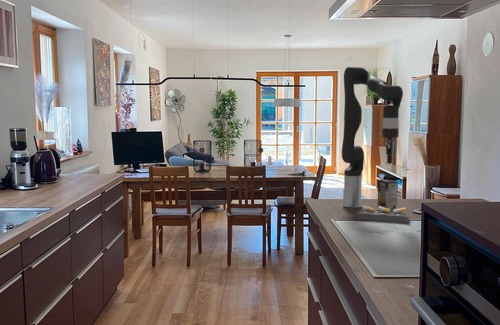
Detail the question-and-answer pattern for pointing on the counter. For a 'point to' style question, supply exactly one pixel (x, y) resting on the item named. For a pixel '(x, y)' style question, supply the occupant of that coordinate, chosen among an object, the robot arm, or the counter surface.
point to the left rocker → (368, 208)
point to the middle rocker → (384, 209)
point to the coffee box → (387, 194)
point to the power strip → (383, 216)
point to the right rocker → (399, 210)
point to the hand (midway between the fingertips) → (389, 163)
